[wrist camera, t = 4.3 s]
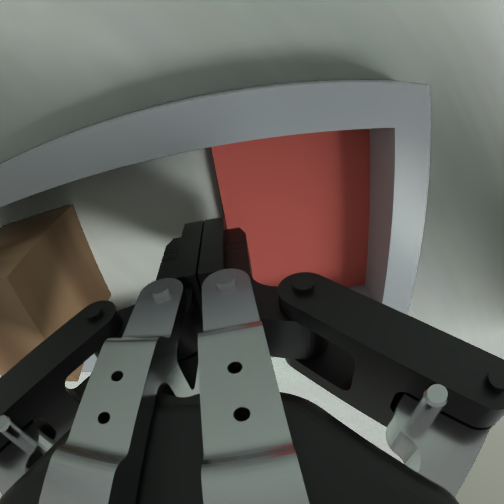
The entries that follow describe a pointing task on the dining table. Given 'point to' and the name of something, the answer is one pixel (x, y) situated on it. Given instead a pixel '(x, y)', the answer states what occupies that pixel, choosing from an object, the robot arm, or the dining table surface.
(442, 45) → the dining table surface
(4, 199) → the channel
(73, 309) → the walnut block
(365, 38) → the dining table surface
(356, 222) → the pad
